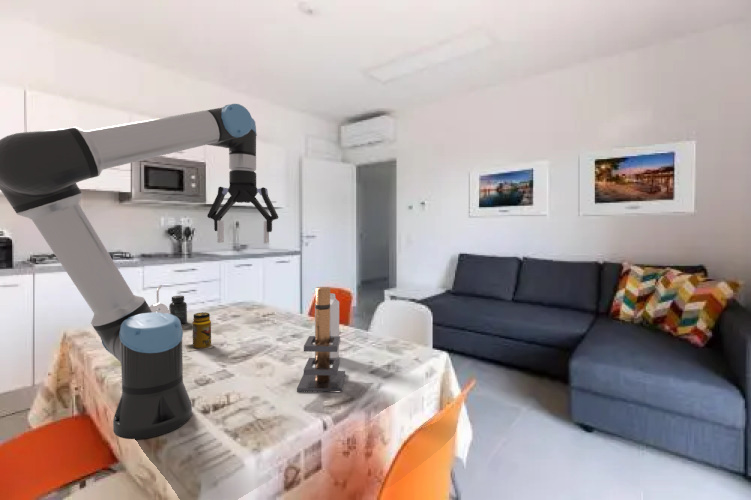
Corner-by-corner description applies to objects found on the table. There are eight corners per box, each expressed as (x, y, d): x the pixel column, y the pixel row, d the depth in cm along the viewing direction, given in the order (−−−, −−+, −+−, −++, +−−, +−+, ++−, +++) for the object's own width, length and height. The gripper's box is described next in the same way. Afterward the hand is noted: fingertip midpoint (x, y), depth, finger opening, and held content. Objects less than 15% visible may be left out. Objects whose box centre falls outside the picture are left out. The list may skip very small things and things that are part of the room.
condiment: (213, 347, 132) (213, 314, 132) (187, 351, 128) (186, 317, 127) (210, 342, 138) (209, 310, 138) (184, 345, 134) (184, 313, 133)
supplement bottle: (170, 322, 164) (169, 295, 164) (187, 320, 167) (187, 294, 166) (168, 326, 158) (168, 298, 157) (186, 324, 161) (186, 297, 160)
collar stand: (342, 392, 99) (342, 344, 98) (296, 391, 99) (297, 344, 98) (345, 374, 111) (345, 331, 110) (305, 373, 111) (305, 331, 110)
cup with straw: (139, 342, 137) (138, 288, 136) (157, 334, 146) (156, 284, 145) (160, 343, 136) (158, 289, 134) (177, 336, 145) (176, 285, 143)
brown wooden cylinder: (328, 382, 103) (329, 289, 101) (313, 382, 103) (314, 289, 101) (330, 376, 107) (331, 286, 105) (316, 376, 107) (316, 286, 105)
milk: (323, 354, 127) (323, 290, 126) (339, 356, 125) (339, 292, 124) (314, 360, 122) (314, 293, 120) (330, 362, 120) (331, 295, 118)
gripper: (288, 173, 113) (288, 242, 115) (206, 171, 113) (207, 241, 114) (282, 169, 106) (282, 244, 107) (194, 168, 105) (195, 242, 107)
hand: (243, 242), depth 111 cm, fingers open, 13 cm apart
